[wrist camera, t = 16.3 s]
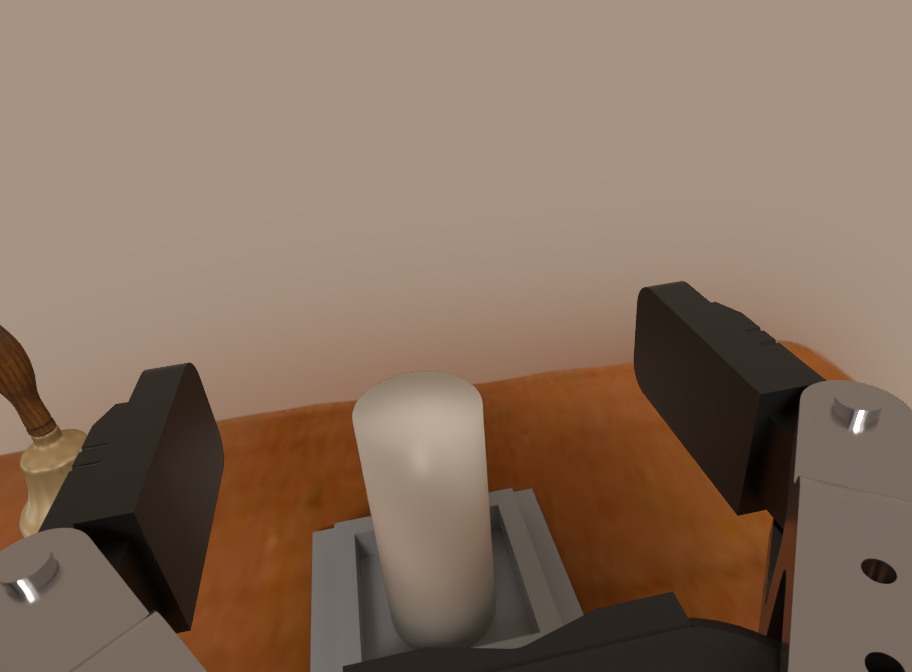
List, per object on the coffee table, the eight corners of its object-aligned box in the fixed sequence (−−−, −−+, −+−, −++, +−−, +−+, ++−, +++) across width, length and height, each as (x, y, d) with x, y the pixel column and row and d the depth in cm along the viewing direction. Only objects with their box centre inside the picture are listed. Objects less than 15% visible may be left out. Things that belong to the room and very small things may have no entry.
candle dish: (311, 786, 29) (297, 752, 28) (315, 540, 42) (305, 508, 41) (618, 711, 31) (621, 675, 30) (532, 496, 44) (531, 464, 42)
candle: (394, 664, 33) (353, 460, 26) (387, 572, 38) (351, 381, 31) (506, 642, 34) (494, 437, 27) (484, 554, 39) (470, 363, 32)
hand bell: (122, 534, 44) (23, 340, 36) (-1, 555, 44) (-130, 362, 36) (154, 457, 52) (77, 280, 44) (48, 474, 51) (-50, 297, 43)
